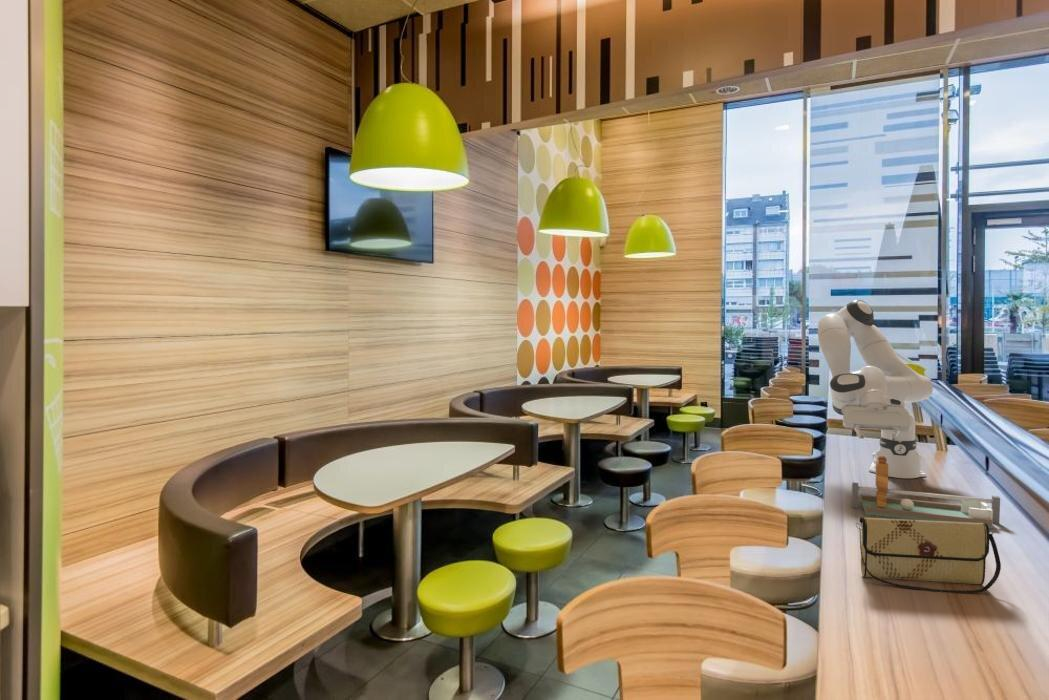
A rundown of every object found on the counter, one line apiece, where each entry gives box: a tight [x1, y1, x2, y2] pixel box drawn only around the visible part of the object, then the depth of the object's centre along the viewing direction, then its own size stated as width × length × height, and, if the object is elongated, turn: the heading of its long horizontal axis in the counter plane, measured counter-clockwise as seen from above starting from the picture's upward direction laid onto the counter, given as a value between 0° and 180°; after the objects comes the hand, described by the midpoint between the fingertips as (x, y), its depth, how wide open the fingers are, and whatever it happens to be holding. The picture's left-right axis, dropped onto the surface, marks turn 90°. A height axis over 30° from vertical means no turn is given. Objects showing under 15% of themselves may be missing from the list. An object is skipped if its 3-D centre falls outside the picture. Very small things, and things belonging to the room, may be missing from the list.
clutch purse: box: [855, 516, 1002, 594], centre depth 135 cm, size 30×7×15 cm, turn 79°
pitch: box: [851, 481, 1001, 530], centre depth 181 cm, size 13×38×8 cm, turn 65°
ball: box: [900, 498, 914, 510], centre depth 182 cm, size 4×4×4 cm
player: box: [875, 456, 889, 508], centre depth 185 cm, size 4×3×16 cm
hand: (877, 438), depth 194 cm, fingers open, 8 cm apart
